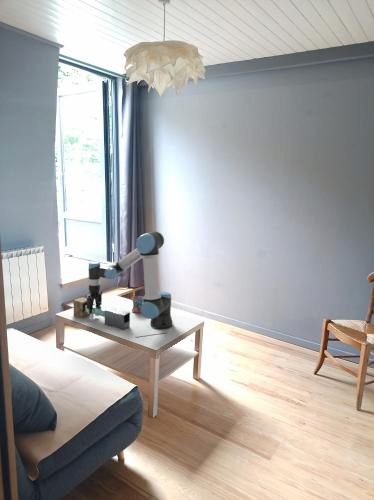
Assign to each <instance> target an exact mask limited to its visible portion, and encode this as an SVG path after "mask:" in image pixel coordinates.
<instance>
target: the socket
mask: <svg viewBox="0 0 374 500" xmlns="http://www.w3.org/2000/svg"><path fill="white" fill-rule="evenodd" d="M86 303H87V298H86V297H79V298H76V299H73V316H75V317H76V318H81V319H84V318H86V317H90V314H88V312H86V311H83V304H86ZM83 317H84V318H83Z"/></svg>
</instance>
